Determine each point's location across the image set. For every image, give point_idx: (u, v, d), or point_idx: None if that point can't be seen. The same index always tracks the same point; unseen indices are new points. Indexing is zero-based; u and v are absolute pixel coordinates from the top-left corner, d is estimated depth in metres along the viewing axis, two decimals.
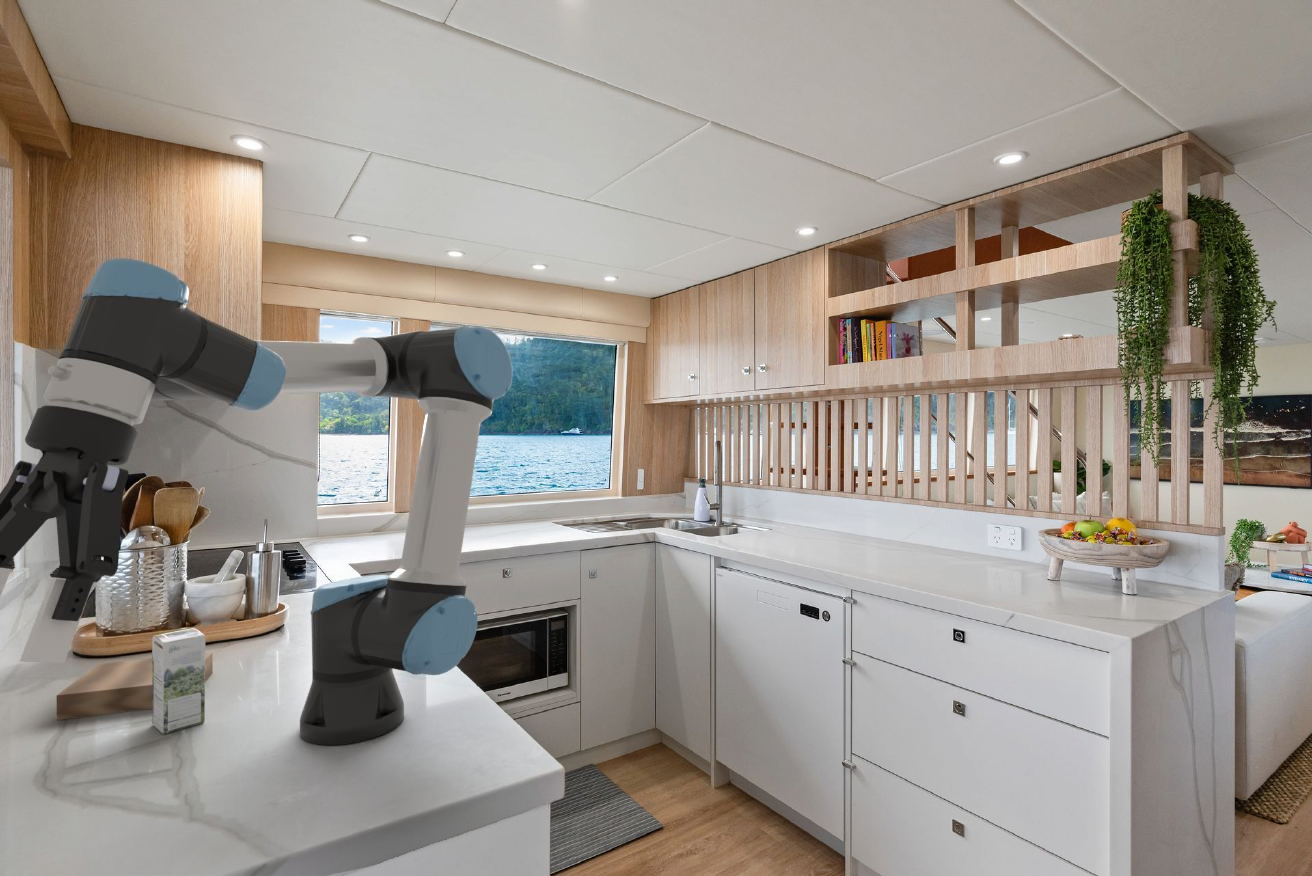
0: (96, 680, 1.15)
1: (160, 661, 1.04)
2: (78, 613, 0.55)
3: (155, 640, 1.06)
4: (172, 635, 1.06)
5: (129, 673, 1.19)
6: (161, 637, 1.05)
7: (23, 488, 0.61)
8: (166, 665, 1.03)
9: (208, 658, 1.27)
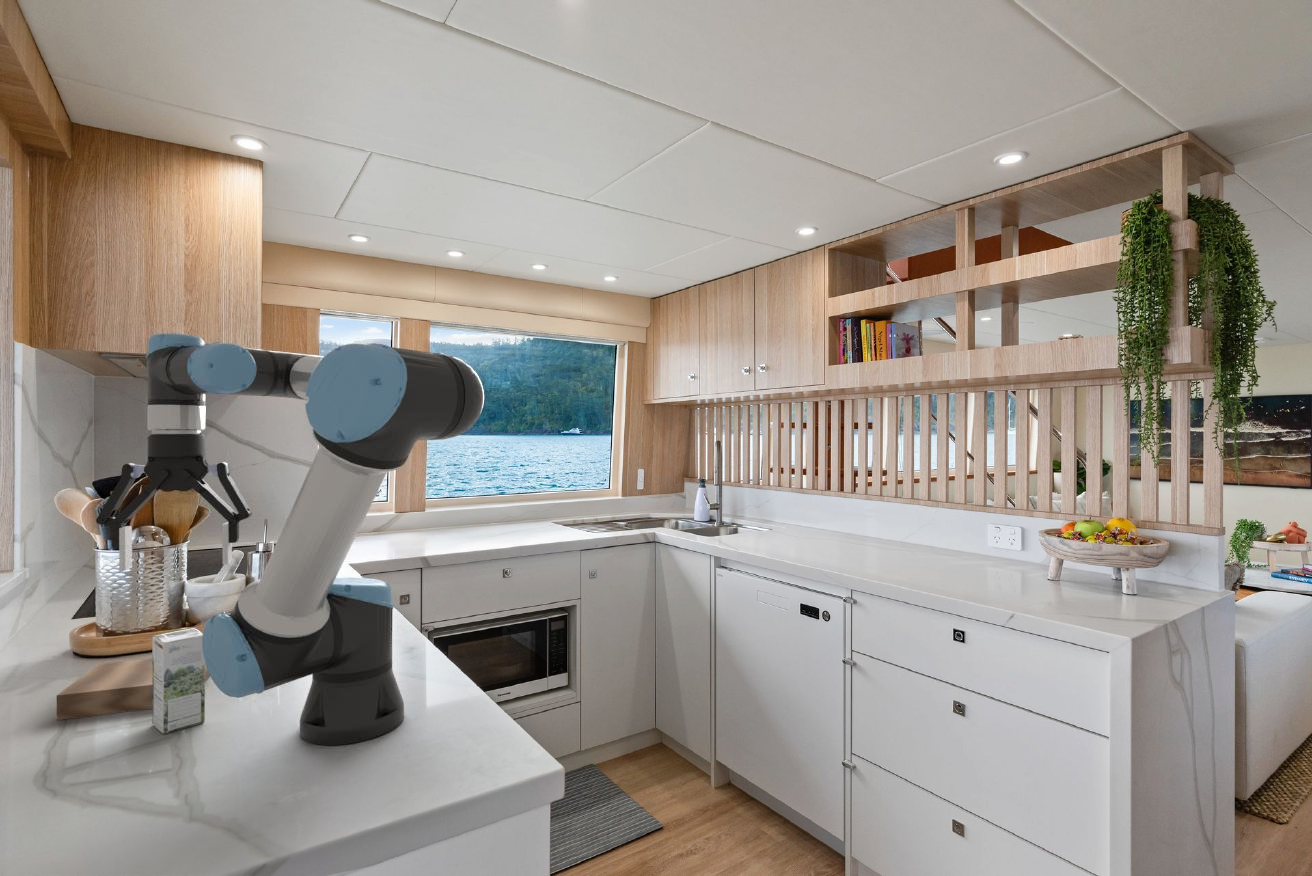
0: (96, 680, 1.15)
1: (161, 661, 1.04)
2: (112, 544, 1.03)
3: (155, 640, 1.06)
4: (172, 635, 1.06)
5: (129, 673, 1.19)
6: (161, 637, 1.05)
7: None
8: (166, 665, 1.03)
9: None
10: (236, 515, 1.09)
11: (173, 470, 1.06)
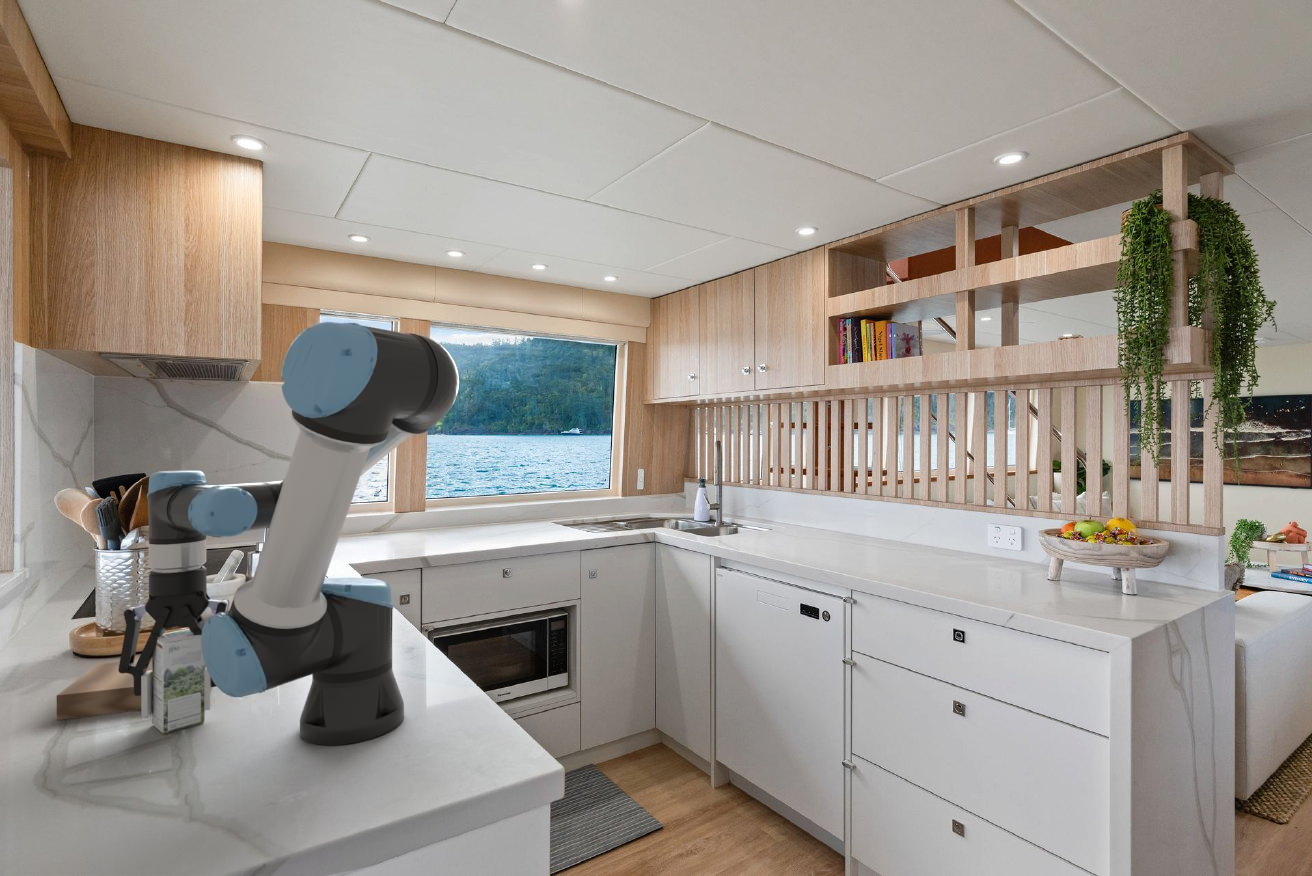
0: (96, 680, 1.15)
1: (160, 661, 1.04)
2: (134, 691, 1.05)
3: None
4: (172, 635, 1.06)
5: None
6: (161, 637, 1.05)
7: None
8: (166, 665, 1.03)
9: None
10: None
11: (173, 601, 1.06)
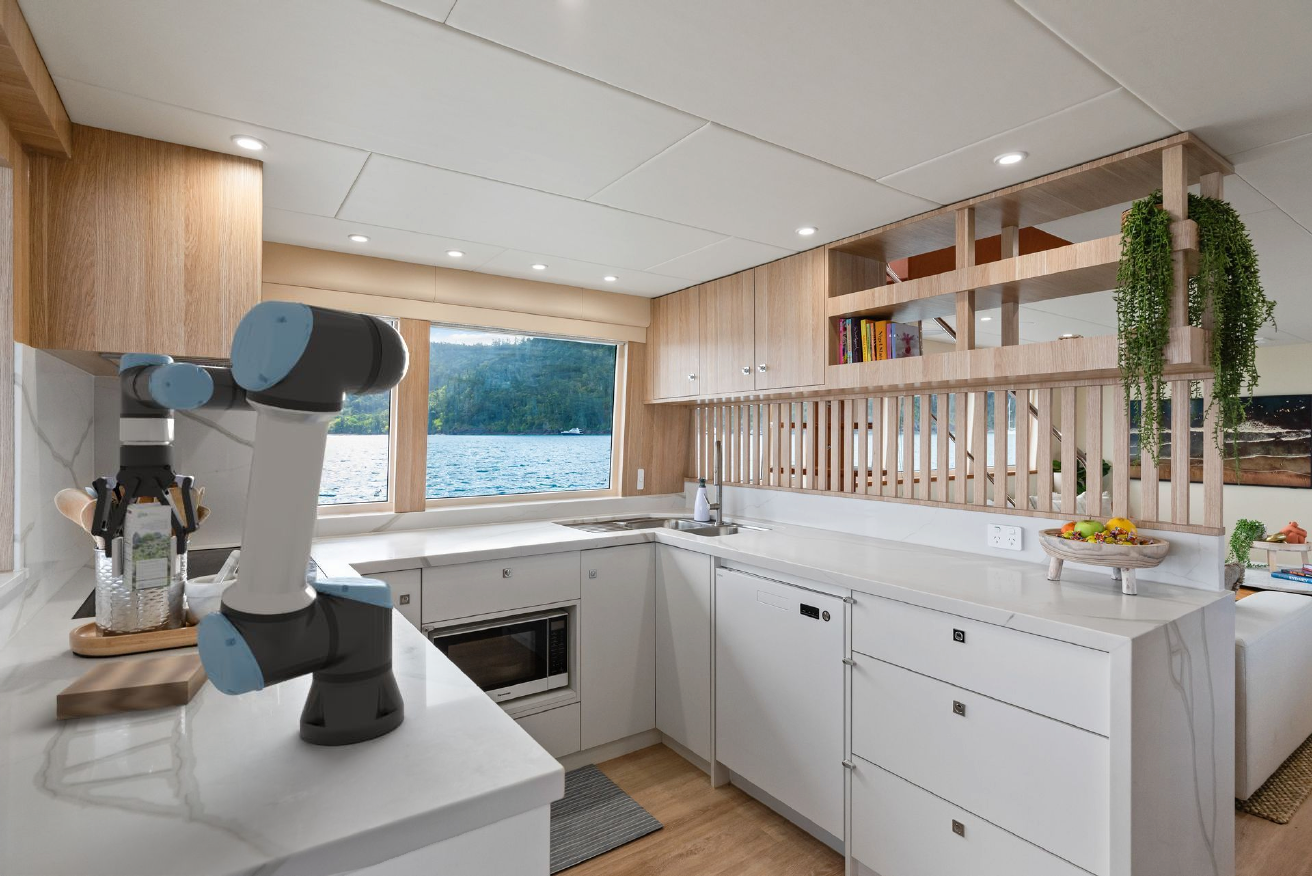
0: (96, 680, 1.15)
1: (130, 525, 1.13)
2: None
3: None
4: (141, 504, 1.16)
5: (129, 673, 1.19)
6: (131, 505, 1.15)
7: None
8: (135, 529, 1.13)
9: None
10: (185, 530, 1.18)
11: (142, 473, 1.15)
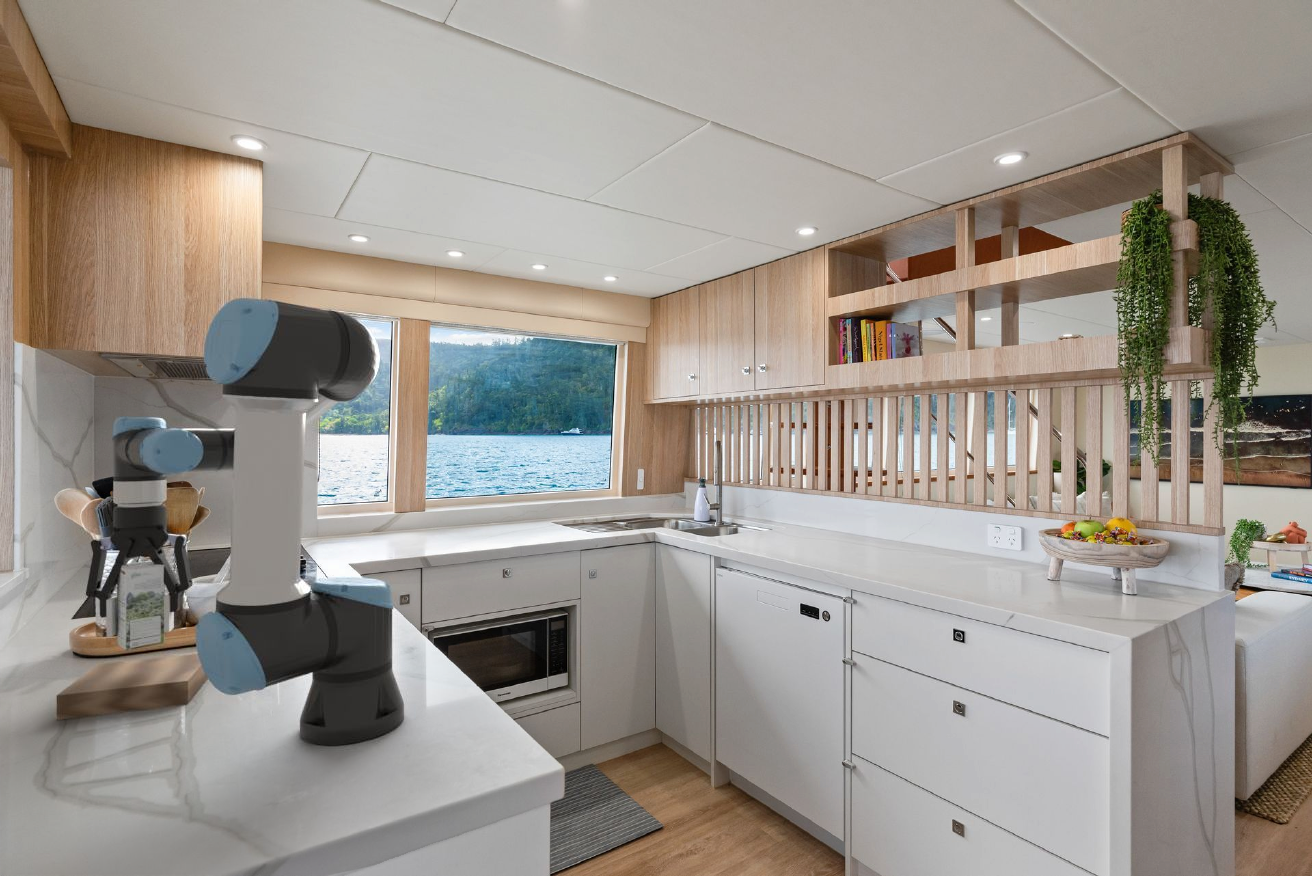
0: (96, 680, 1.15)
1: (124, 585, 1.16)
2: (100, 613, 1.17)
3: None
4: (135, 564, 1.18)
5: (129, 673, 1.19)
6: (124, 565, 1.17)
7: None
8: (129, 589, 1.16)
9: None
10: (178, 588, 1.21)
11: (136, 533, 1.18)
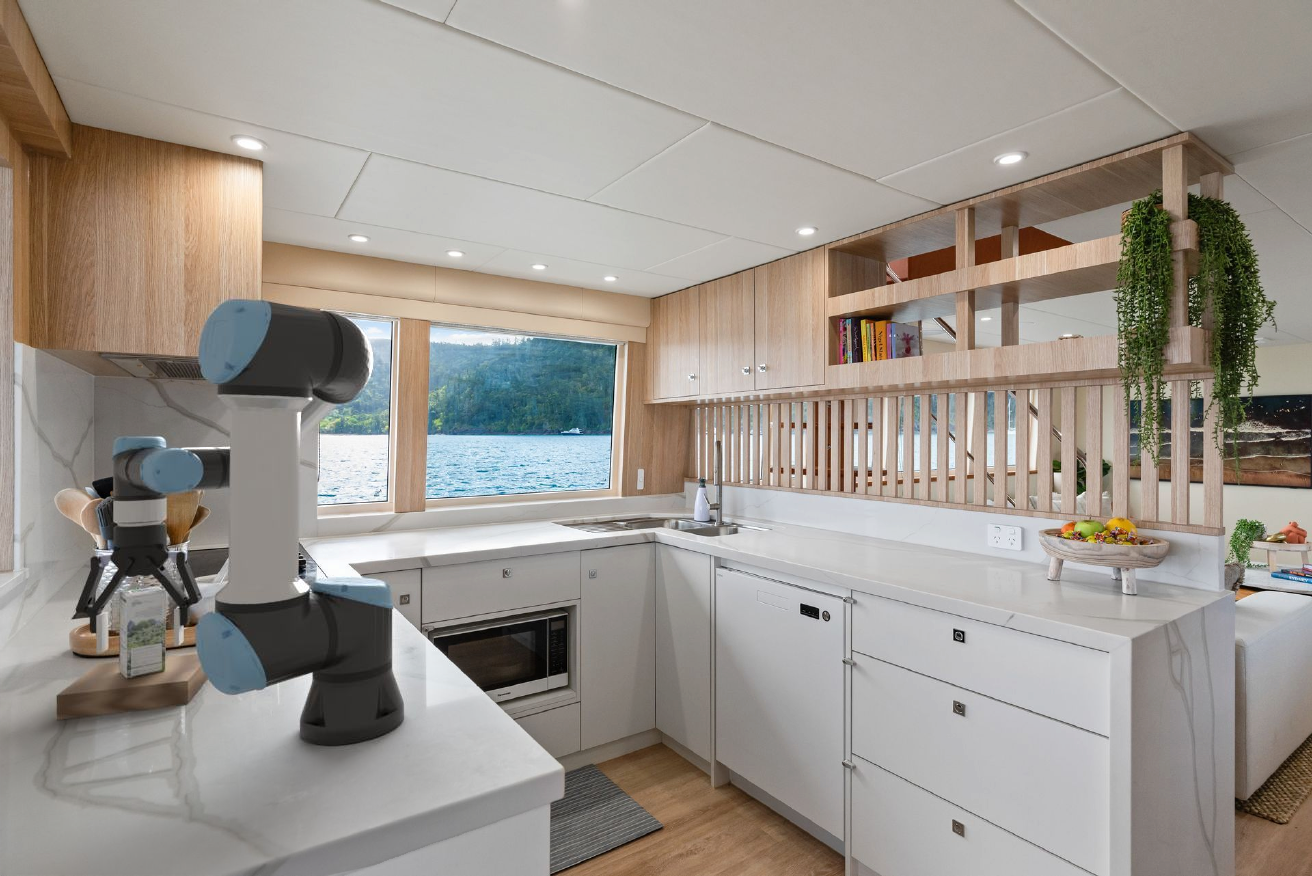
0: (96, 680, 1.15)
1: (125, 613, 1.16)
2: (90, 629, 1.16)
3: (121, 595, 1.18)
4: (136, 591, 1.19)
5: None
6: (126, 593, 1.17)
7: None
8: (129, 617, 1.16)
9: None
10: (187, 601, 1.21)
11: (137, 555, 1.18)
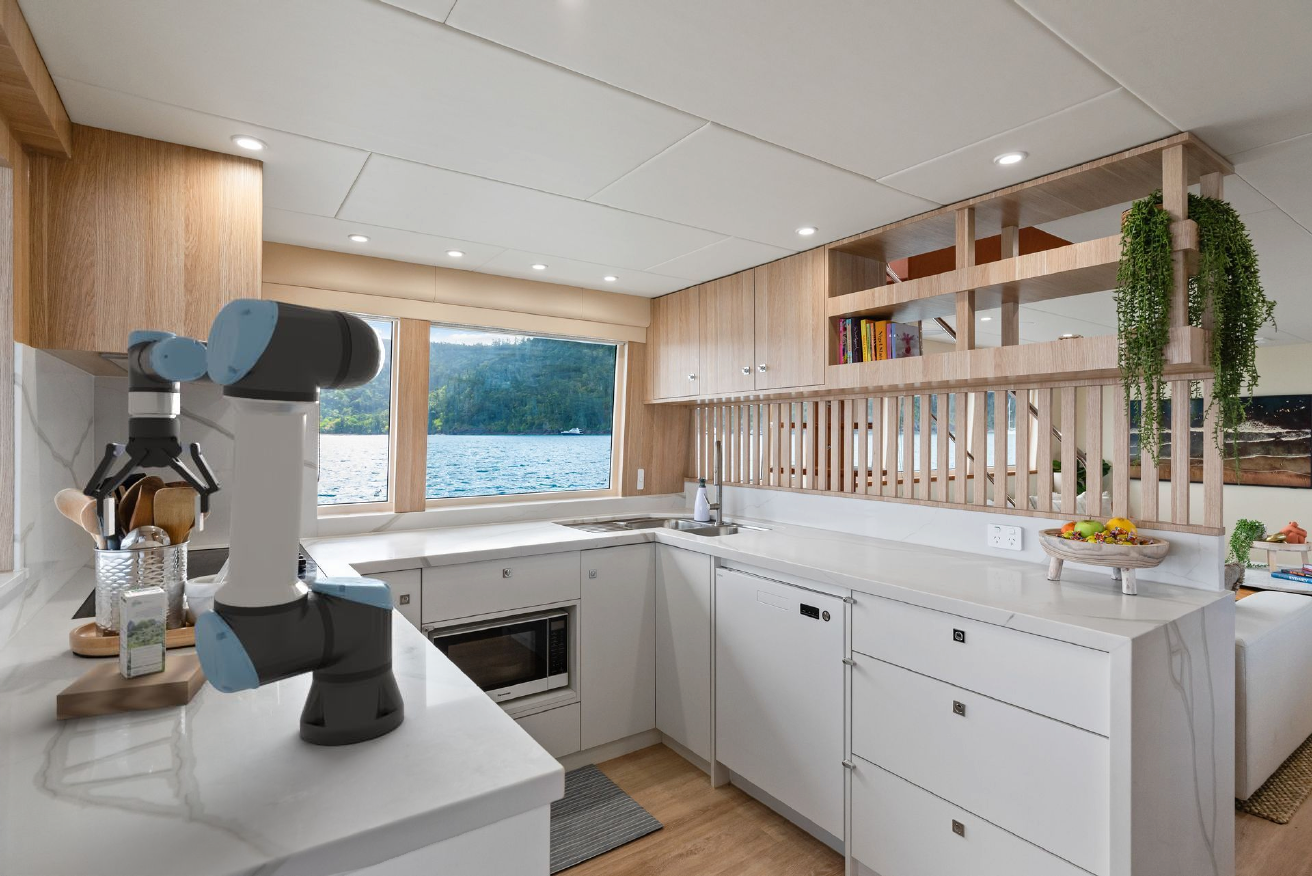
0: (96, 680, 1.15)
1: (125, 614, 1.16)
2: (97, 513, 1.19)
3: (121, 595, 1.18)
4: (136, 591, 1.18)
5: None
6: (126, 593, 1.17)
7: None
8: (129, 618, 1.16)
9: None
10: (207, 489, 1.25)
11: (151, 449, 1.21)
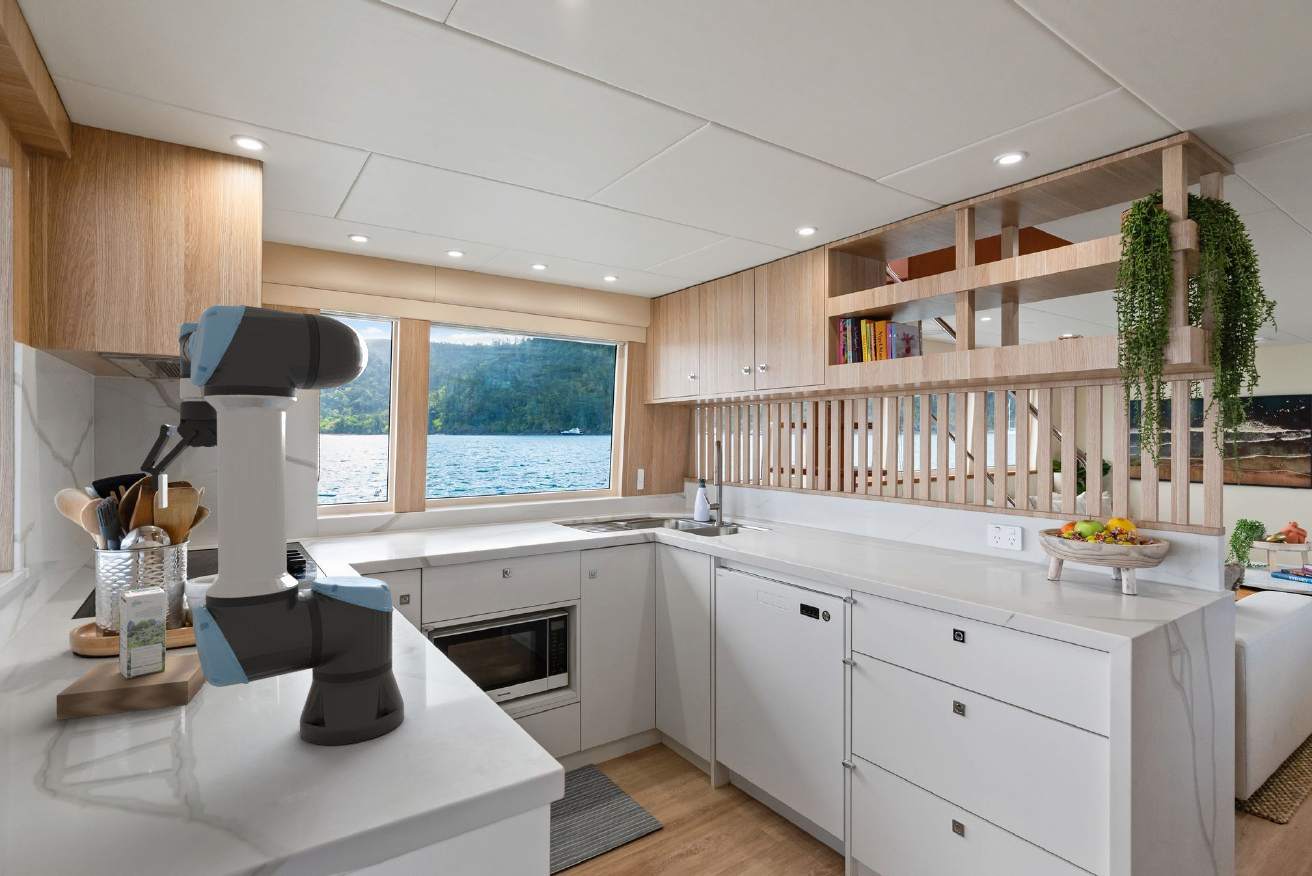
0: (96, 680, 1.15)
1: (125, 614, 1.16)
2: None
3: (121, 595, 1.18)
4: (136, 591, 1.18)
5: None
6: (126, 593, 1.17)
7: None
8: (129, 617, 1.16)
9: None
10: None
11: (200, 430, 1.34)
